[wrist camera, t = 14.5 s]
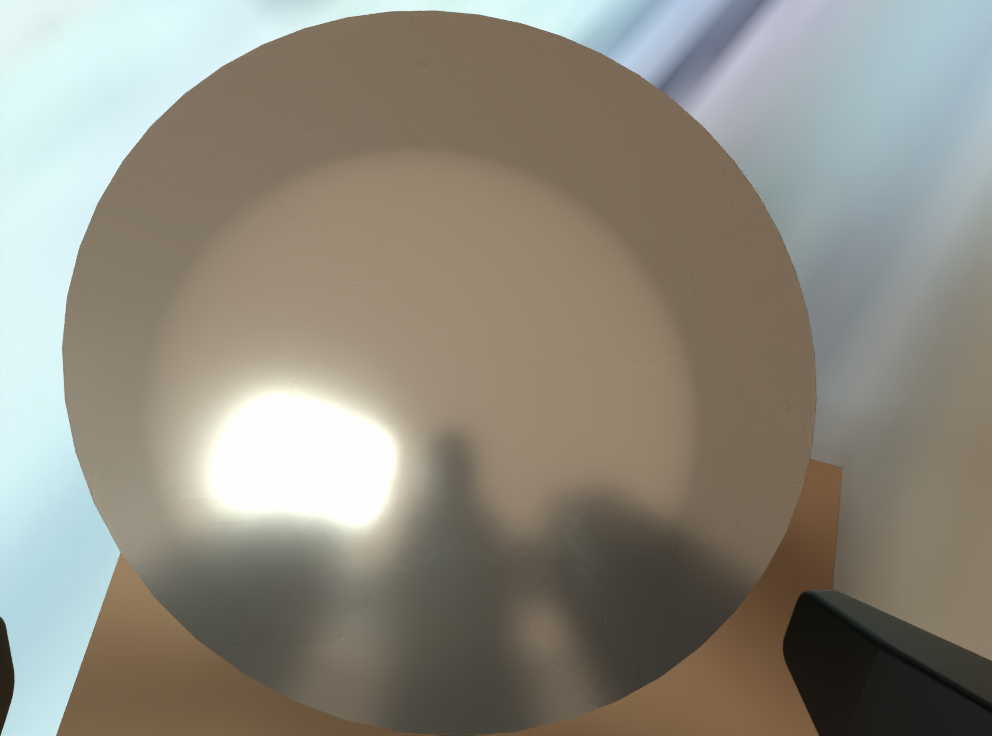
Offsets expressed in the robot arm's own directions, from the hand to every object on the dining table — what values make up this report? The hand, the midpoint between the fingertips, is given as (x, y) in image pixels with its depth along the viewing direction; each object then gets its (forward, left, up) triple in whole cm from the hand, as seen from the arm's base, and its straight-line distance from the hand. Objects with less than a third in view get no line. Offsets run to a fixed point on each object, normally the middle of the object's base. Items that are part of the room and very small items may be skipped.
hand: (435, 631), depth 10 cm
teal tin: (+2, +1, -9) cm, 10 cm away
